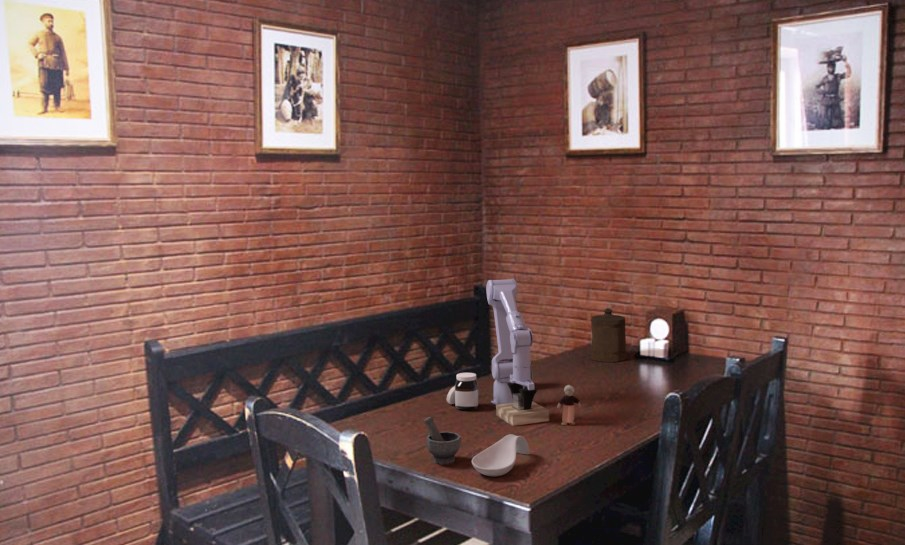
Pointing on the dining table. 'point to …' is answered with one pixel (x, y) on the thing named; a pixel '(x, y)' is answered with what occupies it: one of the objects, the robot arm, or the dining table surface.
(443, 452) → the mortar and pestle
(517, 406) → the steel peg
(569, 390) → the grandmother figurine
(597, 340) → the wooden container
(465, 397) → the spread jar
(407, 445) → the dining table surface
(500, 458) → the spoon rest
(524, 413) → the maple hole block
